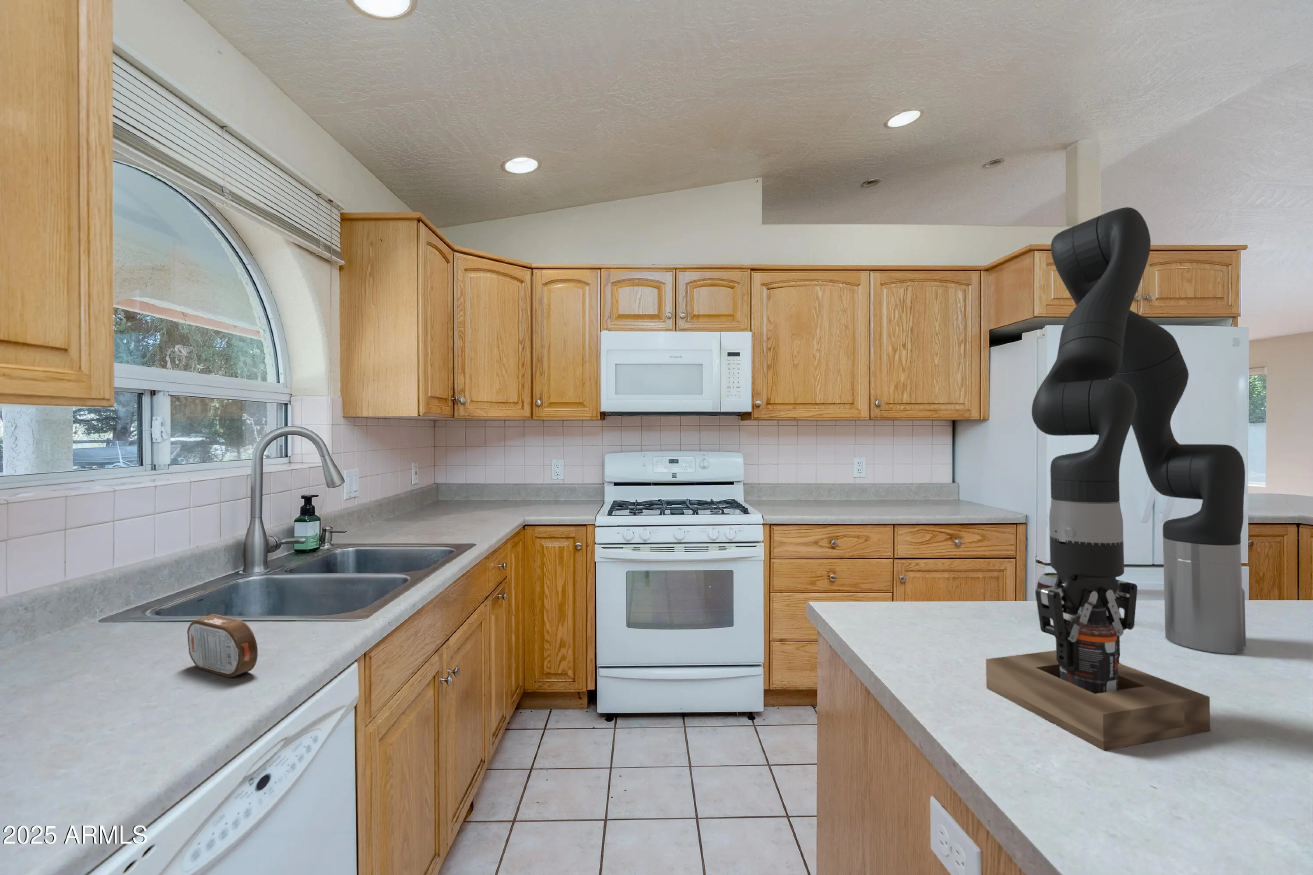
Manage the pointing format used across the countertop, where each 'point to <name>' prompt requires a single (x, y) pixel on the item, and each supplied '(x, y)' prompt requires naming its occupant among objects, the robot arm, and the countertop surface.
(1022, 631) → the countertop surface
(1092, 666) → the supplement bottle
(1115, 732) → the walnut holder
